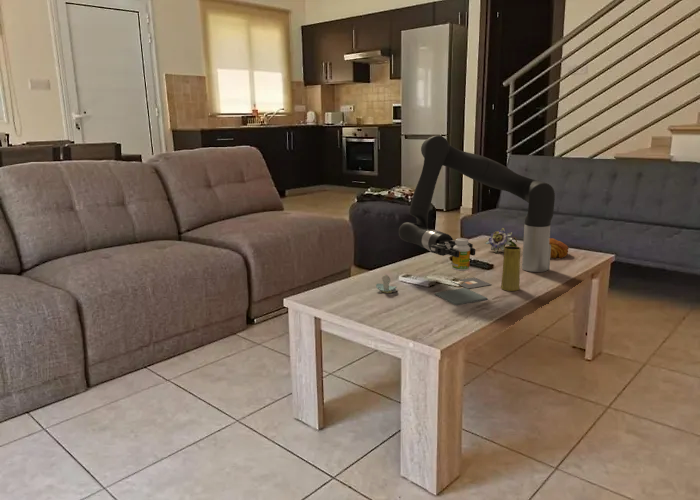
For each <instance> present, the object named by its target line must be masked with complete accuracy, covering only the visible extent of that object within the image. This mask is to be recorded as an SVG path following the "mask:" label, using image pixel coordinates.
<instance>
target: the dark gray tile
mask: <svg viewBox="0 0 700 500" xmlns="http://www.w3.org/2000/svg"><path fill="white" fill-rule="evenodd" d="M459 280H460V281H464V283H463V284H461V285H459V286H460V287H462V288H467V289H469V290H470V289H476V288H483V287H487V286H492V284H491V283H489V282H486V281H484V280H481V279H479V278H478V277H477V278H476V277H474V276H473V277H467V278H461V279H459Z"/></svg>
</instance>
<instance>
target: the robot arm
mask: <svg viewBox="0 0 700 500" xmlns="http://www.w3.org/2000/svg"><path fill="white" fill-rule="evenodd" d="M420 147H421V148H420V152H421V155H422V157H423V158H424V159H423V165H422V169H421V172H420V173H421V174H420V177H419V179H418V182H417V185H416V187H415V189H414V192H413V195H412V198H411V203H410V206H409V210H408V213H409V215H410V216H412V217H414V218H415V219H416V223H414V222H408V221H407V222H403V223H401V224H400V226H399V227H398V236H399V238H400V239H401V241H403V242H405V243H406V242H407V243H409V244H414V245H417V246H419V247H421V248H423V249H426V250H427V251H429V252H430V253H431V254H434V255H435V254H436V255H439V256H440V257H441V256H443V257H444V256H449V257H453V256H454V257H456V258H457V257H459V251H458V250H456V249H453V247H454V246H455V245H456V244H455V241H456V239H455V240H454V239H453V237H452V236H451V235H450V234H448V233H445V232H443V231H439V230H437V229H433V228H432V229H431V228H429V227H428V226H429V225H428V224H429V221H428V220H429V211H430V210H431V205H432V204H431V203H432V200H433V198H434V197H433V196H434V192H435V188H436V185H437V181H438V179H439V175H440V172H441V170H442V168H443V166H444V167H447V168H449V169H452V170H454V171H456V172H458V173H460V174H462V175H463V176H465V177H467V178H469V179H471V180H473V181H475V182H477V183H480V184H483V185H484V186H486V187H490V188H493V189H496V190H499V191H505V192H508V193H509V194H513V195H515V196H517V197H518V198H520V199H522V201H525V202H527V203H528V209H527V215H525V218H524V222H523V223H524V225H523V226H524V227H523V243H522V244H523V245H522V260H521V269H522V270H524V271H525V272H526V271H527V272H531V273H543V272H546V271H548V270H550V266H551V265H550V264H551V258H550V254H551V245H550V244H549V239H550V238H551V223H552V219H553V217H554V212H555V211H554V210H555V199H556V194H555V190H554V188H553V186H552V185H551V184H549V183H547V182H544V181H541V180H536V179H534V178H530V177H526V176H524V175H521V174H518V173H516V172H514V171H513V170H512V169H510V168H508V167H507V166H505V165H503V164H502V163H500V162H498V161H496V160H493V159H491V158H488V157H486V156H483V155H480V154H477V153H471V152H467V151H463V150H460V149H458V148H456V147H454V146H452V145H451V144H450V143H449V141H448V140H447V138H446V137H444V136H442V135H434V136H429V138H426V139H425V140H424V141H423V143H422V144H421V146H420ZM467 246H469V247H470V256H476V249H475V248H474V247H473V246H474V245H473V244H472V243H470V241H468V245H467Z"/></svg>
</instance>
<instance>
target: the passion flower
mask: <svg viewBox="0 0 700 500" xmlns="http://www.w3.org/2000/svg"><path fill="white" fill-rule="evenodd" d="M505 230H506V229H505V228H504V227H502V228H501V229H499V230H497V231H496V230H495V231H494V232H493V231H492V232H491V234H490V237H488V240H486V241H485V242H484V244H485V245H490V246H491V247H490V250H491V251H493V250H494V253H495V254H496V253H498V252H499V250H500V251H503V252H504V247H506V245H507V246H517V242H518V240H517V238H516V237H515V236H514V237H511V236H512V235H513V232H505ZM513 239H514V240H515V242H514V241H513ZM517 247H518V246H517Z"/></svg>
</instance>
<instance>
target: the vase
mask: <svg viewBox="0 0 700 500" xmlns="http://www.w3.org/2000/svg"><path fill="white" fill-rule="evenodd" d="M520 263H521V247H519V246H509V245H507V246H506V245H505V247H504V250H503V261H502V264H503V265H502V274H501V285H500V289H501V290H503V291H508V292H516V291H520V279H521V278H520V272H521V268H520V267H521V264H520Z"/></svg>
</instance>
